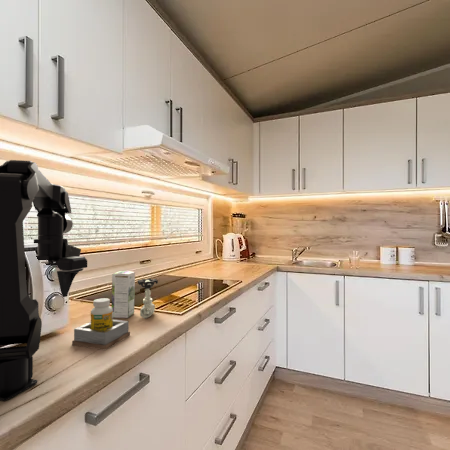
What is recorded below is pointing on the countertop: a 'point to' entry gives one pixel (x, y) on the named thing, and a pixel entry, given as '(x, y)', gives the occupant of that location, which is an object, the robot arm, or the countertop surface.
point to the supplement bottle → (101, 315)
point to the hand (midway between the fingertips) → (50, 295)
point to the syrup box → (123, 294)
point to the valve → (147, 298)
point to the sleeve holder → (100, 335)
